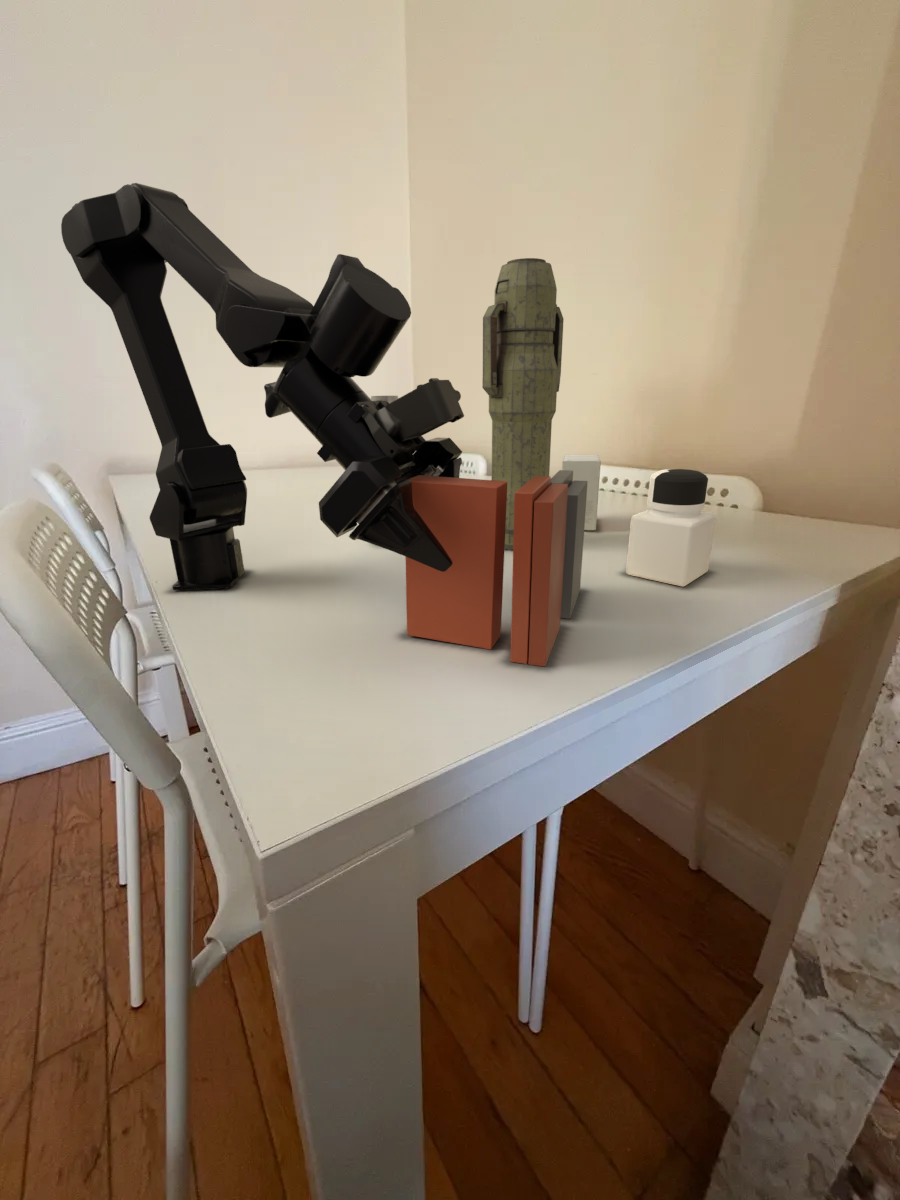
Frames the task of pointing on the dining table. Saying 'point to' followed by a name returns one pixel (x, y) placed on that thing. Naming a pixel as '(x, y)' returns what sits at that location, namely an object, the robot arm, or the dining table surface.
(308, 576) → the dining table surface
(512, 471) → the olive green military canister
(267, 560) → the dining table surface
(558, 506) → the rust books
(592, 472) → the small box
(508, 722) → the dining table surface
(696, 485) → the medicine bottle
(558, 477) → the grey books
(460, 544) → the rust book
